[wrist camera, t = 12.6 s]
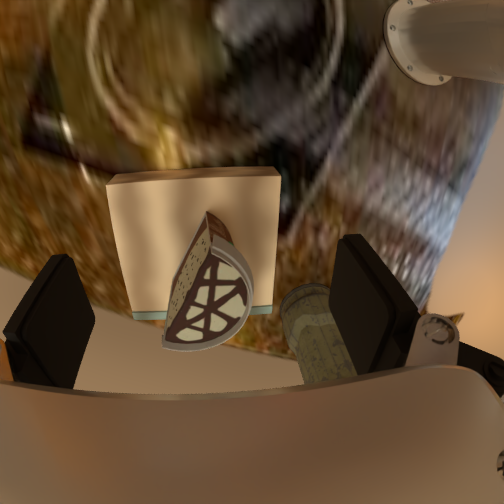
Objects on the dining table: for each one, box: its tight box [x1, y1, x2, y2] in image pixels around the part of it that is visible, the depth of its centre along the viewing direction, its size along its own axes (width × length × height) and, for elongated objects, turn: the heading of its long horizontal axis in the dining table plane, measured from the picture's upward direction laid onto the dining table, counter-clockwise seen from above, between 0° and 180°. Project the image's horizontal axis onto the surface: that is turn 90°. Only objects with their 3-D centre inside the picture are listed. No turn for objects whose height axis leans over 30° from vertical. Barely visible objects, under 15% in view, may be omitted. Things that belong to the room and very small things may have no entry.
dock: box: [106, 167, 281, 320], centre depth 35 cm, size 18×18×4 cm
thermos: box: [280, 283, 358, 384], centre depth 30 cm, size 9×12×35 cm
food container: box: [162, 211, 254, 351], centre depth 29 cm, size 12×6×10 cm, turn 150°
